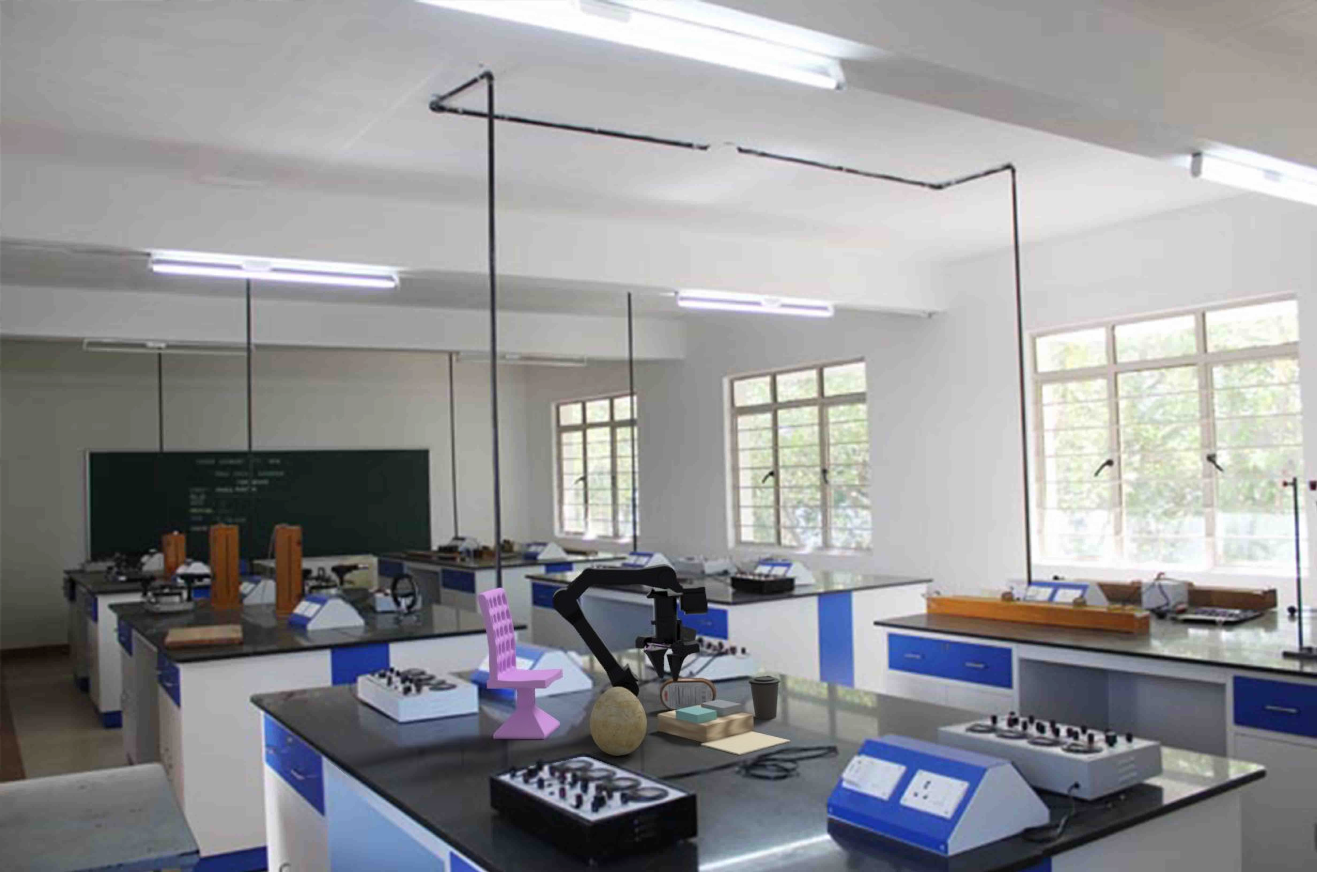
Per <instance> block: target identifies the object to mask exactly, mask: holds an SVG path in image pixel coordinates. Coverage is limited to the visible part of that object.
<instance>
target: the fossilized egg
mask: <svg viewBox="0 0 1317 872" xmlns="http://www.w3.org/2000/svg"><path fill="white" fill-rule="evenodd" d="M646 715H647V714H646V712H645V709H644V707H643V705H642V703H641V702H640V700H639V698H638V696H637V697H636V696H635V695H634V694H633V693H632V692H630V691H629V690H627V689H626V688H623V687H613V686H612V687H610V688H609V689H607V690H605V691H604V692H603V693H602V694H601V695H600V697H598V698H597V701H596V702H595V704H594V706H593V708H592V711H591V713H590V718H589V729H590V735H591V737H592V739H593V741H594V743H595V744H596V746H597V747H598V748H599V749H600V750H602V752H604V753H605V754H608V755H611V756H617V757H618V756H620V757H621V755H622V756H626V755H629V754H630V753H632V752H634V751H635V750H637V748H638V747H639V746H640V745H641V744H642V743H643V740H644V738H645V736H646V734H647V733H646V732H647V727H648V726H647V725H648V724H647V723H648V722H647V716H646Z"/></svg>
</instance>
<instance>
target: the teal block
mask: <svg viewBox="0 0 1317 872" xmlns="http://www.w3.org/2000/svg"><path fill="white" fill-rule="evenodd" d="M676 719H680V720H684V721H688V722H693V723H697V724H699V723H703V722H708V721H712V720H716V719H717V711H715V710H711V709H706V708H702V707H697V706H692V707H687V708H683V709H678V710H676Z"/></svg>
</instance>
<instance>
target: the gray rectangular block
mask: <svg viewBox="0 0 1317 872" xmlns="http://www.w3.org/2000/svg"><path fill="white" fill-rule="evenodd" d="M701 707H702V708H706V709H711V710H715V711H717V715H719V716H723V717H724V716H728V715H732V714H737V713H741V712H742V710H743V709H742V703H738V702H735V701H733V702H732V701H728V700H723V699H715V700H714V701H710V702H705V703H701ZM742 713H743V712H742Z"/></svg>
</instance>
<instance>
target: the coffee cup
mask: <svg viewBox="0 0 1317 872" xmlns="http://www.w3.org/2000/svg"><path fill="white" fill-rule="evenodd" d="M780 683H781V680H780V679H779V678H777V677H773V676H771V675H766V676H765V675H762V676H756V677H754V678H751V679H749V681H748V684H750V690H751V696H752V703H753V704H752V705H753V710H754V717H755V719H758V720H772V719H776V718H777V713H778V712H777V711H778V699H779V698H778V696H779V684H780Z"/></svg>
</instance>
